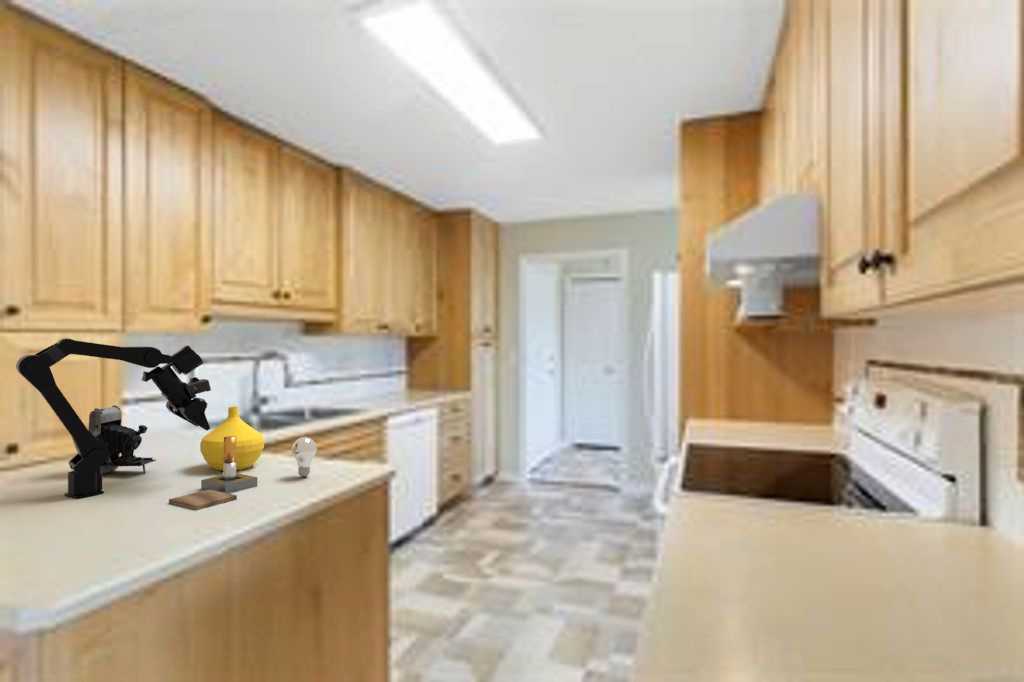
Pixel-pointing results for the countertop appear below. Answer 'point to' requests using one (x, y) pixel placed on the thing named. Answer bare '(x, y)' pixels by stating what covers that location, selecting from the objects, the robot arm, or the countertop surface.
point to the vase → (246, 446)
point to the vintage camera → (117, 439)
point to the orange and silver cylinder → (229, 458)
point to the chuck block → (229, 483)
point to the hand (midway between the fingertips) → (203, 427)
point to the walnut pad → (202, 499)
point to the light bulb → (304, 454)
